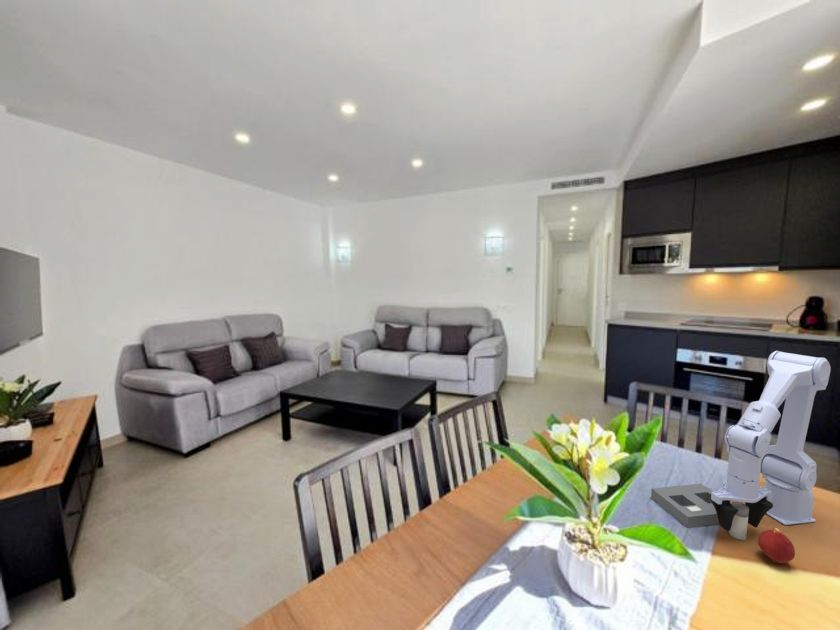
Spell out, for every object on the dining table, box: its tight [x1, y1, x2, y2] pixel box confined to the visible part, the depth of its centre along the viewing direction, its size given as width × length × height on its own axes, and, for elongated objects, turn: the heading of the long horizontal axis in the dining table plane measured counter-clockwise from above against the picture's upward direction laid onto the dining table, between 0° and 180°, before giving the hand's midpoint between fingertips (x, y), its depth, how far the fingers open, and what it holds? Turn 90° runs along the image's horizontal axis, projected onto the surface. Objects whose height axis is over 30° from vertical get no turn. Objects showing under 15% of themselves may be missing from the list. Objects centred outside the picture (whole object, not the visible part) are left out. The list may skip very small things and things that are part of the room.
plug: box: [728, 501, 749, 541], centre depth 86 cm, size 3×3×8 cm
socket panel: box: [650, 483, 732, 529], centre depth 96 cm, size 16×12×3 cm
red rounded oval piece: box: [757, 527, 796, 564], centre depth 78 cm, size 6×6×8 cm
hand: (738, 526), depth 86 cm, fingers open, 7 cm apart
